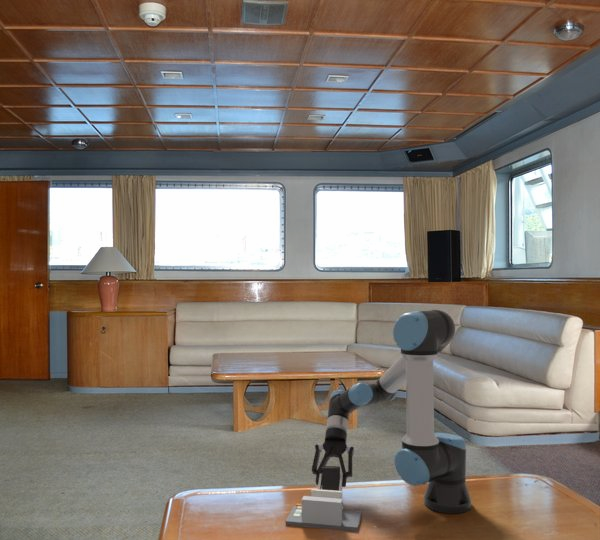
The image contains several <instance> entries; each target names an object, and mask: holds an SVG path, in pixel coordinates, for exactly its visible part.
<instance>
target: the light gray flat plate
mask: <svg viewBox="0 0 600 540" xmlns="http://www.w3.org/2000/svg"><path fill="white" fill-rule="evenodd" d="M310 496H312V497H324V498H337V499H342V500H343V490H342V491H334V490H322V488H321V489H318V488H311V489H310ZM295 506H299V507H302V503H295Z"/></svg>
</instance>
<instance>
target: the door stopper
mask: <svg viewBox="0 0 600 540" xmlns="http://www.w3.org/2000/svg"><path fill="white" fill-rule="evenodd" d="M340 475H341V466H336V465H335V466H333V465H332V466H331V465H326V466H322V488H321V490H334V491H339V484H340Z"/></svg>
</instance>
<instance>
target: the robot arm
mask: <svg viewBox="0 0 600 540" xmlns="http://www.w3.org/2000/svg"><path fill="white" fill-rule="evenodd" d="M455 333H456V324H455V322H454V319H453V318H452V317H451V315H449V313H447V312H446V311H443V310H440V309H432V310H419V311H417V310H415V311H414V310H413V311H410V312H409V311H408V312H405V313H403V314H401V315H400V316H399V317H398V318H397V319H396V321H395V323H394V326H393V330H392V334H393V335H392V336H393V340H394V342H395V343H396V346H397V347H398V348H399V349H400V354H401V355H400V356H399V358H397V359H396V360H395V362H394V363H392V364H391V366H390V367H389V368H388V369H386V371H385V372H384V373H383V374H382V375H381V376H380V377H379V378H378V379H377V380H376V381H375V382H371V383H365V382H358V383H355V384H353V385H352V386H350V387H349V388H348V389H346V390H343V389H338V390H334V391H332V393H331V394H330V398H329V401H328V410H327V411H328V412H327V420H326V430H325V436H324V442H323V443H322V444H321V445H319V444H317V443H316V444H315V445H314V447H315V452H314V457H313V461H312V462H313V463H312V466H311V472H312V474H313V475H315V484H316V485H317V489H321V490H322V466H327V463H328V461H329V460H330V458H336V459H337V458H338V462H339V464H340V470H341V473H342V474H340V484H339V491H342V492H343V488H346V486H347V478H352V477H353V457H354V453H355V447H354V446H347V437H348V430H349V429H348V426H349V416H350V414H352V413H354V412H355V411H356V410H359V409H360V408H364V407H368V406H373V405H377V404H383V403H385V404H386V403H389V402H391V401H393V400H394V399H396V397H397V394H398V390H399V389H400V388H401V387H402V386H404V384H405V398H406V399H405V403H406V404H405V406H406V408H405V410H406V411H405V412H406V413H405V414H406V417H405V418H406V434H405V435H404V436H403V437H402V438H401V449H399V450H398V451H397V452H396V453H395V456H394V466H395V467H394V468H395V469H396V472H397V474H398V476H400V478H401V480H402V481H404V482H405V483H406V484H407V485H409V486H412V487H417V486H424V485H427V486H426V490H425V492H424V495H423V503H424V505H425V506H426V508H428V509H431V510H432V511H434V512H437V513H438V512H439V513H442V514H443V513H444V514H461V513H462V514H463V513H466V512H468V511H469V510H470V509H471V508H472V500H471V499H472V498H471V495H470V493H469V489H468V487H467V482H466V479H467V476H466V471H467V469H466V467H467V466H466V465H467V464H466V462H467V457H466V456H467V455H466V454H467V448H466V447H467V446H466V440H465V439H464V438H463V437H462V436H459V435H456V434H452V433H446V432H435V406H434V405H435V401H434V400H435V398H434V397H435V395H434V393H435V391H434V390H435V389H434V381H435V379H434V361H435V360H434V359H435V358H437V356H438V355H439V353H441V352H442V351H444V349H445V348H446V347H447V346H448V345H449V344H450V343H451V342H452V340H453V339H454V337H455ZM322 450H324V451H325V452H324V456H323V458H322V459H321V462H319V460H320V456H321V453H322ZM346 451H347V456H348V457H347V458H348V462H347V463H348V465H347V466H348V467H347V470H348V471H346V468H345V467H346V466H345V463H344V458H343V455H344V453H346ZM319 463H320V464H319Z"/></svg>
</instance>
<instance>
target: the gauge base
mask: <svg viewBox="0 0 600 540" xmlns="http://www.w3.org/2000/svg"><path fill="white" fill-rule="evenodd" d="M301 504H302V507H299V506H296V505H293V507H292V508H291V510H290V512H289V514H288V516H287V518H286V520H285V526H291V527H303V528H305V527H306V528H315V529H325V528H326V529H327V530H336V531H337V530H338V531H349V532H359V531H358V530H359V528H360V527H359V526H360V522H361V519H362V514H363V513H362V511H361V510H351V509H350V510H349V509H343V498H342V499H337V498H324V497H312V496H311V495H303V496H302V497H301ZM326 529H325V530H326Z"/></svg>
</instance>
